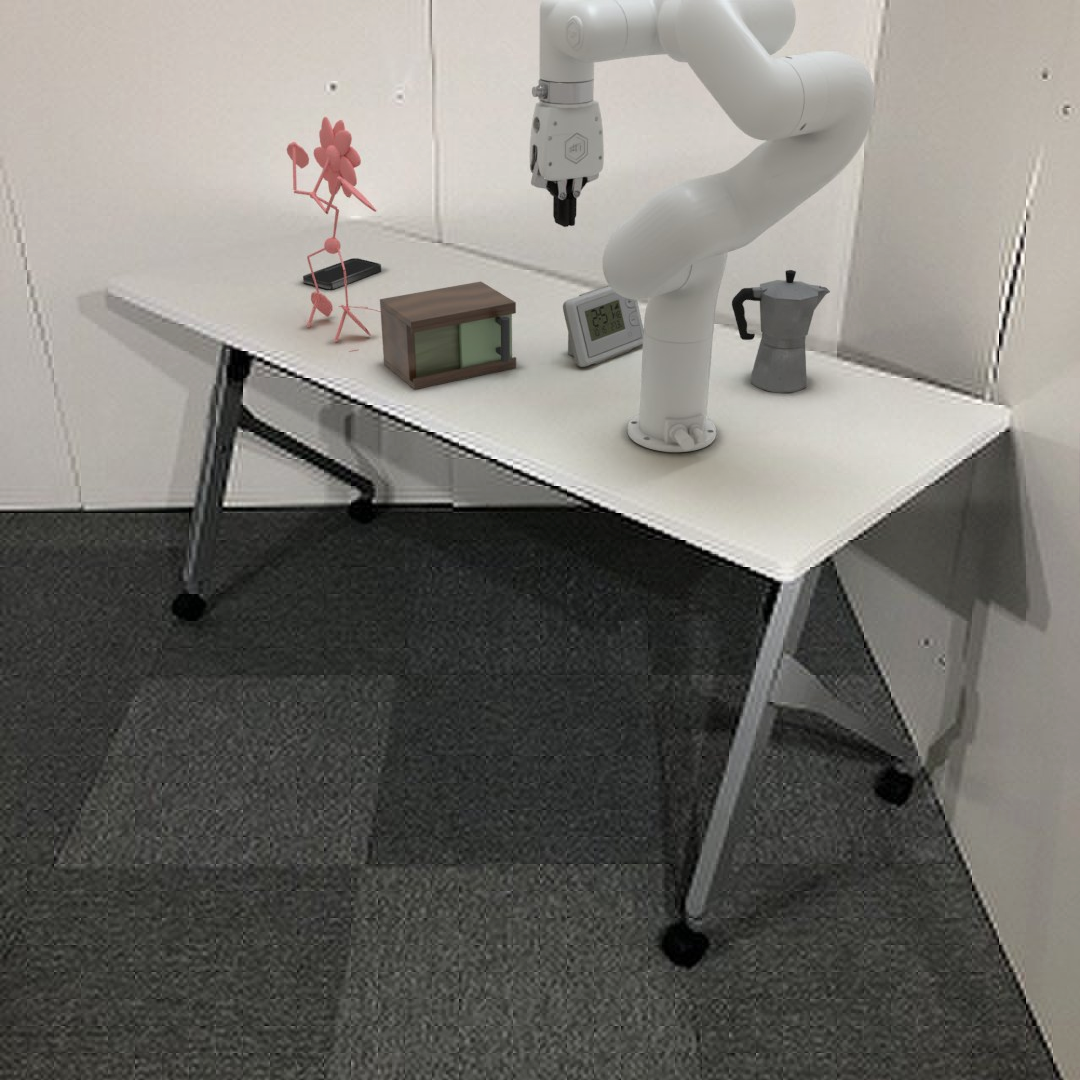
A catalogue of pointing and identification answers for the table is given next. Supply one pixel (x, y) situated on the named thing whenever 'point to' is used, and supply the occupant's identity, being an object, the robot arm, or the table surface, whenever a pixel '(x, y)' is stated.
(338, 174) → the figurine
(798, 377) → the coffeepot
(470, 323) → the sliding door
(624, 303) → the digital clock
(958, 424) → the table surface
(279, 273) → the table surface
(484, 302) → the cabinet
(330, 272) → the phone
